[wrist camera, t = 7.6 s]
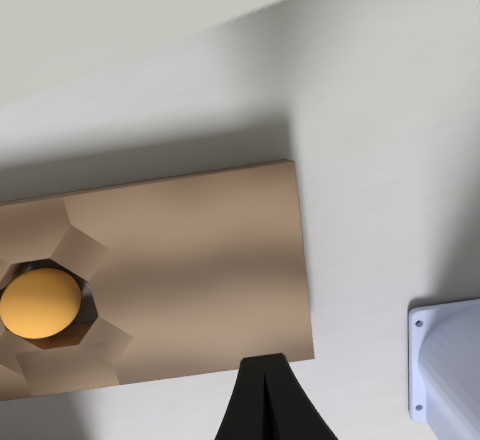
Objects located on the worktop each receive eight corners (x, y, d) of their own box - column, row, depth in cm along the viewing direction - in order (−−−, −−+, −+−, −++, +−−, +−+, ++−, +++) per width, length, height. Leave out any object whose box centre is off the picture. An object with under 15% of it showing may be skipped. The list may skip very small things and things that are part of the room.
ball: (-1, 345, 17) (63, 307, 21) (39, 361, 16) (102, 316, 19) (-27, 285, 16) (45, 255, 20) (13, 294, 14) (85, 259, 18)
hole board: (305, 333, 21) (314, 358, 18) (25, 371, 21) (-2, 401, 19) (286, 159, 18) (294, 161, 15) (-39, 208, 18) (-82, 218, 16)
